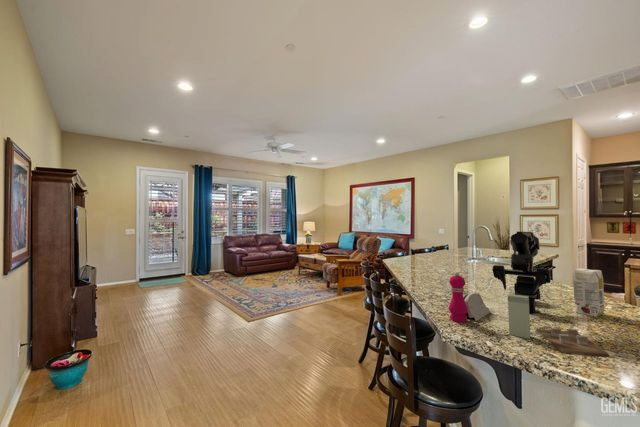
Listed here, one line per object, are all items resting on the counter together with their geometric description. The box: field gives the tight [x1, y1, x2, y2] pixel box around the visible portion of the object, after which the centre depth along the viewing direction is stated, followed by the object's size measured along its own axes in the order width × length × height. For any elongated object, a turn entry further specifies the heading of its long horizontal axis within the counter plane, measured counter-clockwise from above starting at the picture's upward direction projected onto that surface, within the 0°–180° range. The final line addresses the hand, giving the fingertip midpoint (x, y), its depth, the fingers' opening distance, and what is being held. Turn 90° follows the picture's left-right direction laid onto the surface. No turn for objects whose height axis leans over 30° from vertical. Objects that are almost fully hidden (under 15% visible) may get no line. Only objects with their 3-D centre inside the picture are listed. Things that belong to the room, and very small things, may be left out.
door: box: [507, 293, 531, 339], centre depth 104 cm, size 3×6×14 cm, turn 50°
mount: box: [535, 327, 610, 358], centre depth 97 cm, size 18×12×3 cm, turn 164°
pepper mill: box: [448, 271, 468, 323], centre depth 120 cm, size 7×7×20 cm
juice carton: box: [572, 267, 605, 318], centre depth 124 cm, size 8×9×19 cm
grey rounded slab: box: [463, 292, 491, 322], centre depth 127 cm, size 17×5×10 cm, turn 132°
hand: (519, 291), depth 110 cm, fingers open, 9 cm apart
